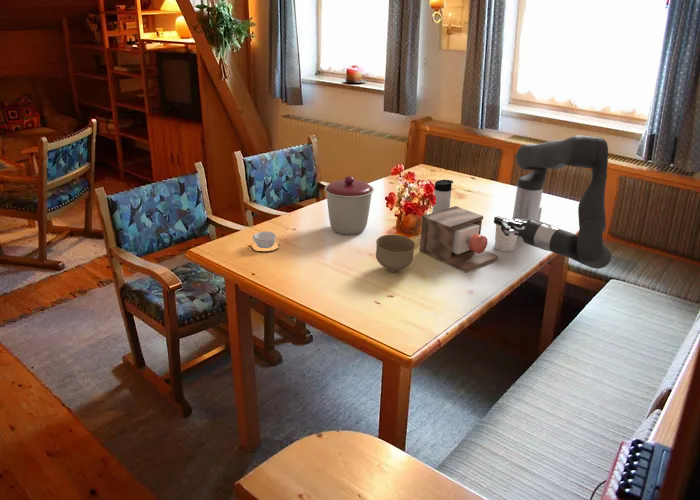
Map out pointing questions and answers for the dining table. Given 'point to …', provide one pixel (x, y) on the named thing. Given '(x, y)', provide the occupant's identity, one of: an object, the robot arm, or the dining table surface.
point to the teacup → (264, 239)
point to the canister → (348, 205)
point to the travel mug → (442, 195)
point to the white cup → (504, 240)
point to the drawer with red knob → (468, 239)
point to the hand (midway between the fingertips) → (495, 219)
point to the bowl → (395, 252)
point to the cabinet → (451, 238)
